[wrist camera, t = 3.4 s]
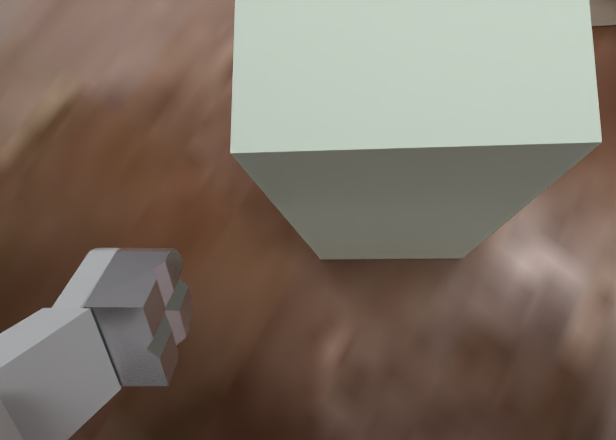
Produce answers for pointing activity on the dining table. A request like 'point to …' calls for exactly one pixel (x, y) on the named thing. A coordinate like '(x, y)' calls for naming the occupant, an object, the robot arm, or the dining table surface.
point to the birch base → (603, 12)
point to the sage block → (410, 116)
